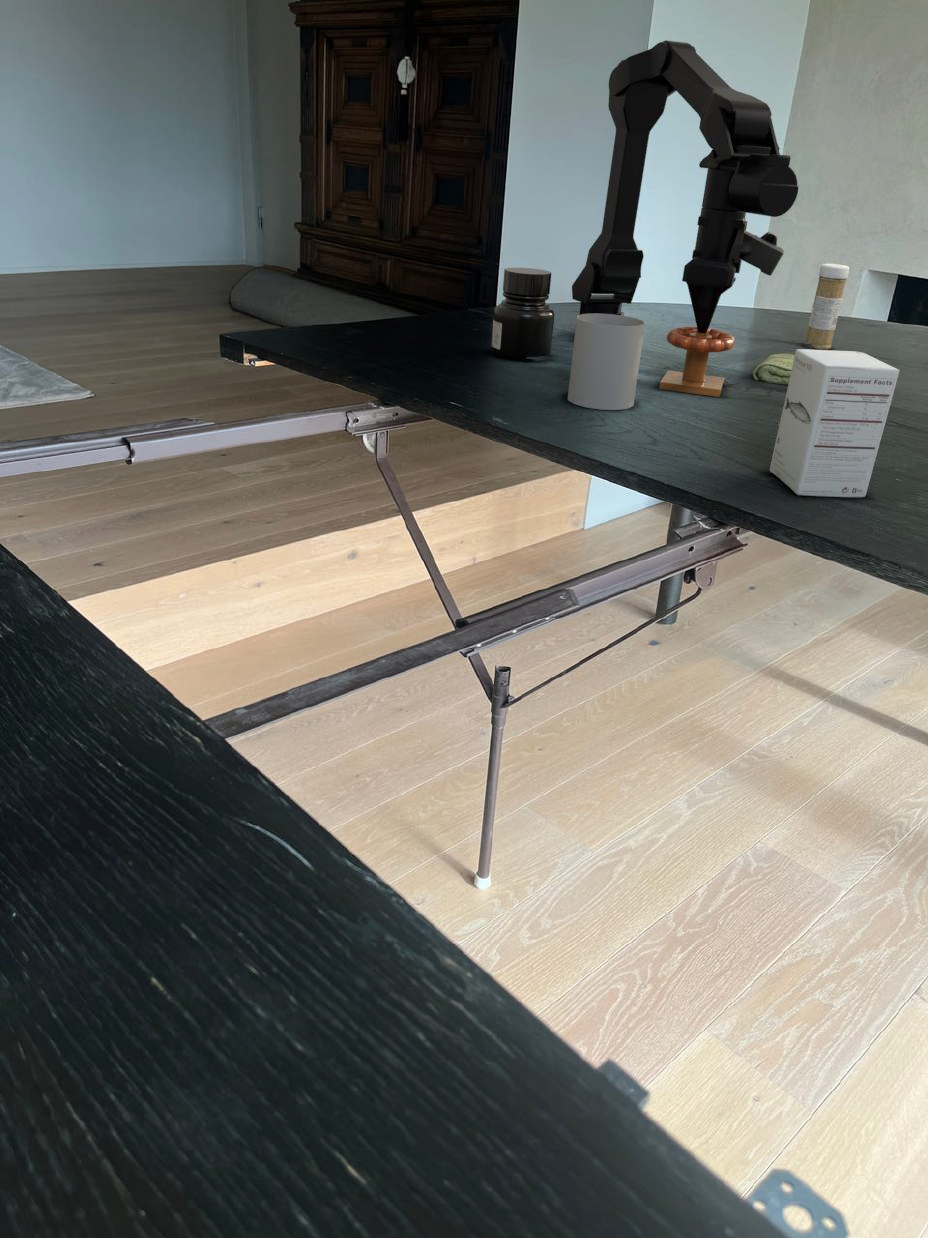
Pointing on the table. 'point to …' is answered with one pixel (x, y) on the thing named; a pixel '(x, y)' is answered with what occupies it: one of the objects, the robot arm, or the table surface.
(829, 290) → the sprinkles bottle
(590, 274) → the robot arm
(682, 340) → the ring
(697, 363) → the wooden peg stand
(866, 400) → the white packaging box
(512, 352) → the ink bottle
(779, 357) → the washcloth
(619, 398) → the cup
